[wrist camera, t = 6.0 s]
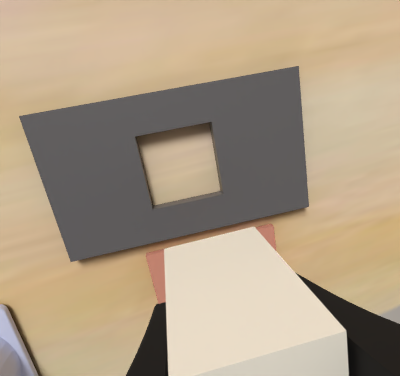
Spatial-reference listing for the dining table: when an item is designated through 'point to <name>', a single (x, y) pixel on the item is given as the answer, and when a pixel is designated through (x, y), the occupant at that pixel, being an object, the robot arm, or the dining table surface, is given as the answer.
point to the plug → (245, 313)
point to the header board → (134, 171)
